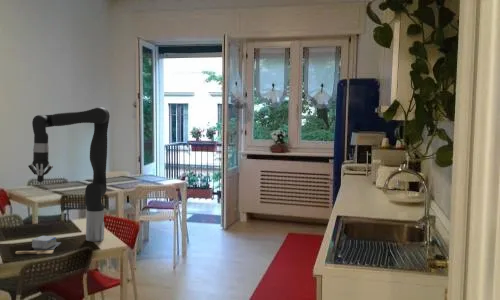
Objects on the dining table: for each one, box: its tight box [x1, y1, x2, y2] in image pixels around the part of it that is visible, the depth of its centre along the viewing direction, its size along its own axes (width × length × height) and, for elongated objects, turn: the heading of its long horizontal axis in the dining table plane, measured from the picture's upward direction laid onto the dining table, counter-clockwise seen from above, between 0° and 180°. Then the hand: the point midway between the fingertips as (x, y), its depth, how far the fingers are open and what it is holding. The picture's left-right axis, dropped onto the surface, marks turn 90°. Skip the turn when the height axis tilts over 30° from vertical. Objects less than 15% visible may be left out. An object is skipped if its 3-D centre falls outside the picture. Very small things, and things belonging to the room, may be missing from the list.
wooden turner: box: [14, 249, 55, 255], centre depth 214 cm, size 17×4×1 cm, turn 106°
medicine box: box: [31, 235, 57, 249], centre depth 223 cm, size 8×4×9 cm
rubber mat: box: [33, 241, 62, 251], centre depth 225 cm, size 10×12×1 cm
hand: (40, 182), depth 236 cm, fingers closed
